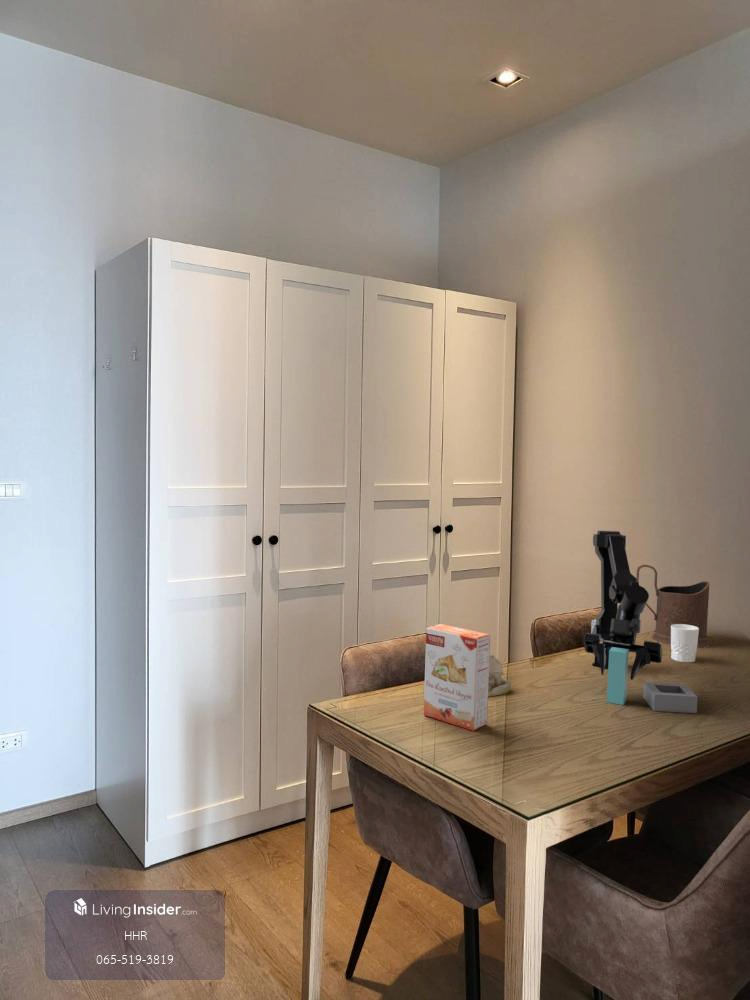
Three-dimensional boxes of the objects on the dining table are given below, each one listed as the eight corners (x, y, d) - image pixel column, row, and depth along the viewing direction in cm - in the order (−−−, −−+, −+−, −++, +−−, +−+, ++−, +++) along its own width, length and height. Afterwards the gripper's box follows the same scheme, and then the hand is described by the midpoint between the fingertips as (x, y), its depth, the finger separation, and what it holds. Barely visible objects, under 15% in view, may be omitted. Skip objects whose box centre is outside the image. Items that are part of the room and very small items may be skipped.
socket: (653, 710, 185) (654, 694, 184) (643, 697, 195) (644, 682, 194) (696, 713, 184) (697, 696, 183) (684, 699, 194) (684, 684, 193)
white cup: (663, 657, 234) (665, 625, 234) (682, 655, 238) (684, 623, 237) (683, 664, 227) (685, 630, 227) (703, 661, 230) (704, 628, 230)
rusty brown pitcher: (716, 650, 244) (720, 572, 243) (637, 644, 249) (641, 568, 248) (703, 637, 263) (707, 564, 261) (630, 631, 267) (633, 560, 266)
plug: (606, 702, 190) (609, 650, 189) (609, 697, 194) (612, 647, 193) (623, 705, 188) (625, 652, 188) (626, 700, 192) (628, 649, 191)
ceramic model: (466, 699, 190) (467, 659, 189) (446, 686, 200) (447, 648, 200) (516, 694, 195) (517, 655, 194) (494, 681, 205) (495, 644, 205)
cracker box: (422, 716, 177) (424, 626, 175) (437, 710, 181) (440, 622, 180) (472, 732, 167) (476, 637, 166) (488, 725, 172) (491, 633, 171)
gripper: (586, 601, 197) (574, 653, 188) (663, 610, 189) (654, 665, 180) (591, 626, 205) (580, 677, 196) (665, 635, 196) (657, 689, 187)
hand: (616, 676), depth 189 cm, fingers open, 7 cm apart
